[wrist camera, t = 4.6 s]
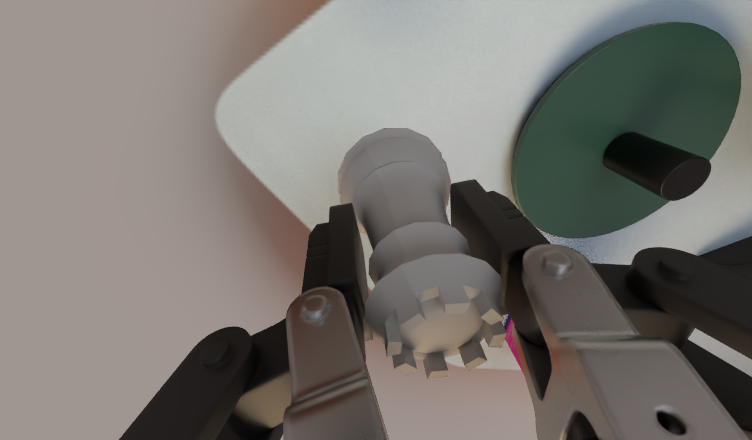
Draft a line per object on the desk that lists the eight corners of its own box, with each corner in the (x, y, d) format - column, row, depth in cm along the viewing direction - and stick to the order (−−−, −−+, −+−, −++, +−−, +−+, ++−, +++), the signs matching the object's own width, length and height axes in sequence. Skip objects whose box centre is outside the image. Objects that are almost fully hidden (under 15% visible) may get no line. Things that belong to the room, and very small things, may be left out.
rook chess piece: (314, 163, 12) (288, 337, 6) (411, 99, 11) (519, 217, 5) (373, 236, 15) (404, 419, 8) (458, 188, 14) (574, 351, 7)
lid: (516, 47, 17) (584, 57, 13) (766, 0, 17) (929, -9, 13) (500, 244, 25) (537, 296, 20) (671, 212, 25) (748, 256, 20)
